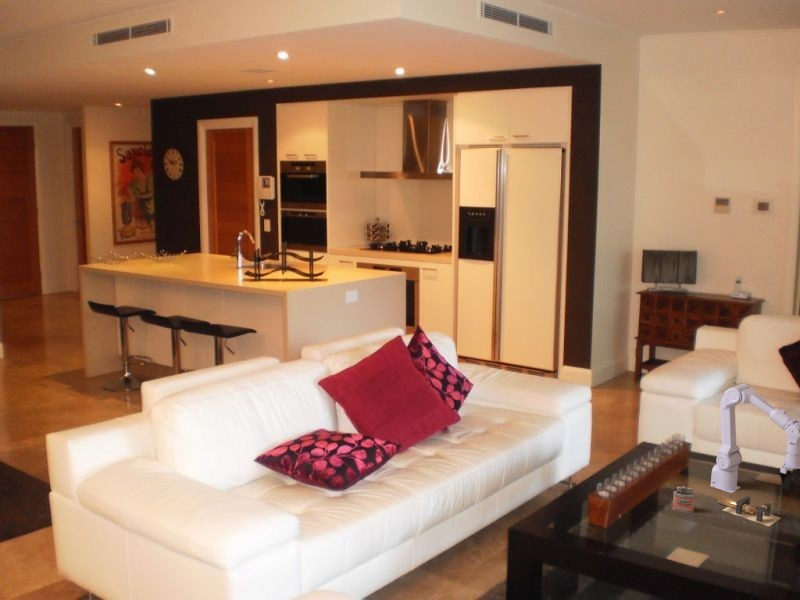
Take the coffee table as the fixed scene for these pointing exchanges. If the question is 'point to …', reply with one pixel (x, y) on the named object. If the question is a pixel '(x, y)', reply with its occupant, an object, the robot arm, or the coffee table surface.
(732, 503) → the tube
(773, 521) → the board
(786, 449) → the robot arm
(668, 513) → the coffee table surface
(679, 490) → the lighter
